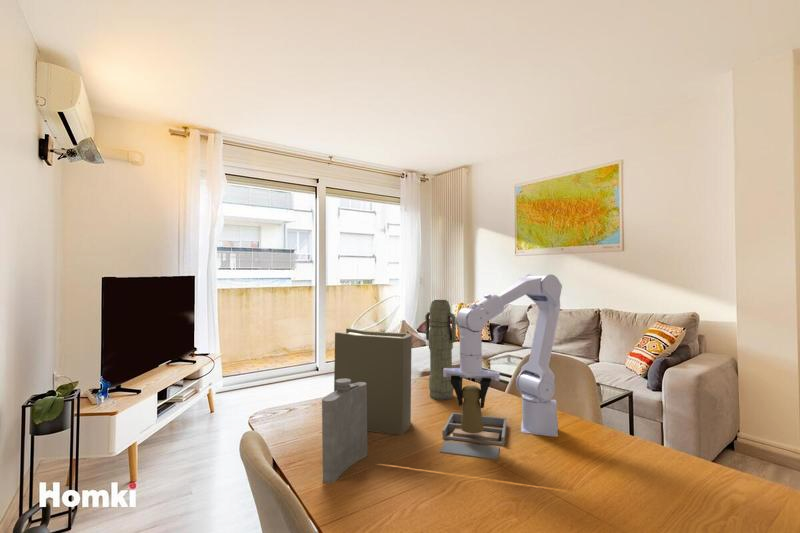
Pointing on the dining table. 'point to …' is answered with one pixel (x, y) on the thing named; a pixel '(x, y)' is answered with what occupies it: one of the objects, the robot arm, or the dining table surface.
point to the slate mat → (470, 450)
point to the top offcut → (477, 435)
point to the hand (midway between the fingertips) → (471, 405)
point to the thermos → (440, 348)
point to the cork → (471, 410)
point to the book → (378, 375)
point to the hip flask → (343, 428)
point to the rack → (486, 420)
